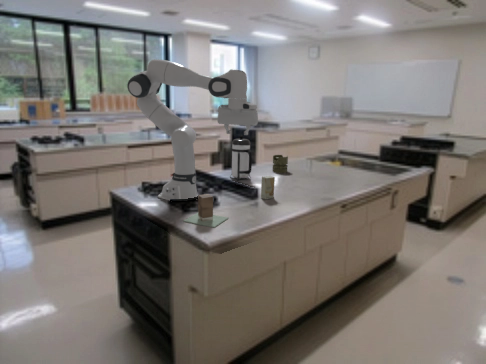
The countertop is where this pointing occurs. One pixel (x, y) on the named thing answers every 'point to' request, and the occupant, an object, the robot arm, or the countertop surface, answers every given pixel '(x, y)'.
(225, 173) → the countertop surface
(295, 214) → the countertop surface
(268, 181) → the skincare box
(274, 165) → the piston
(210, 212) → the block
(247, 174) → the coffee press
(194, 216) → the mat
